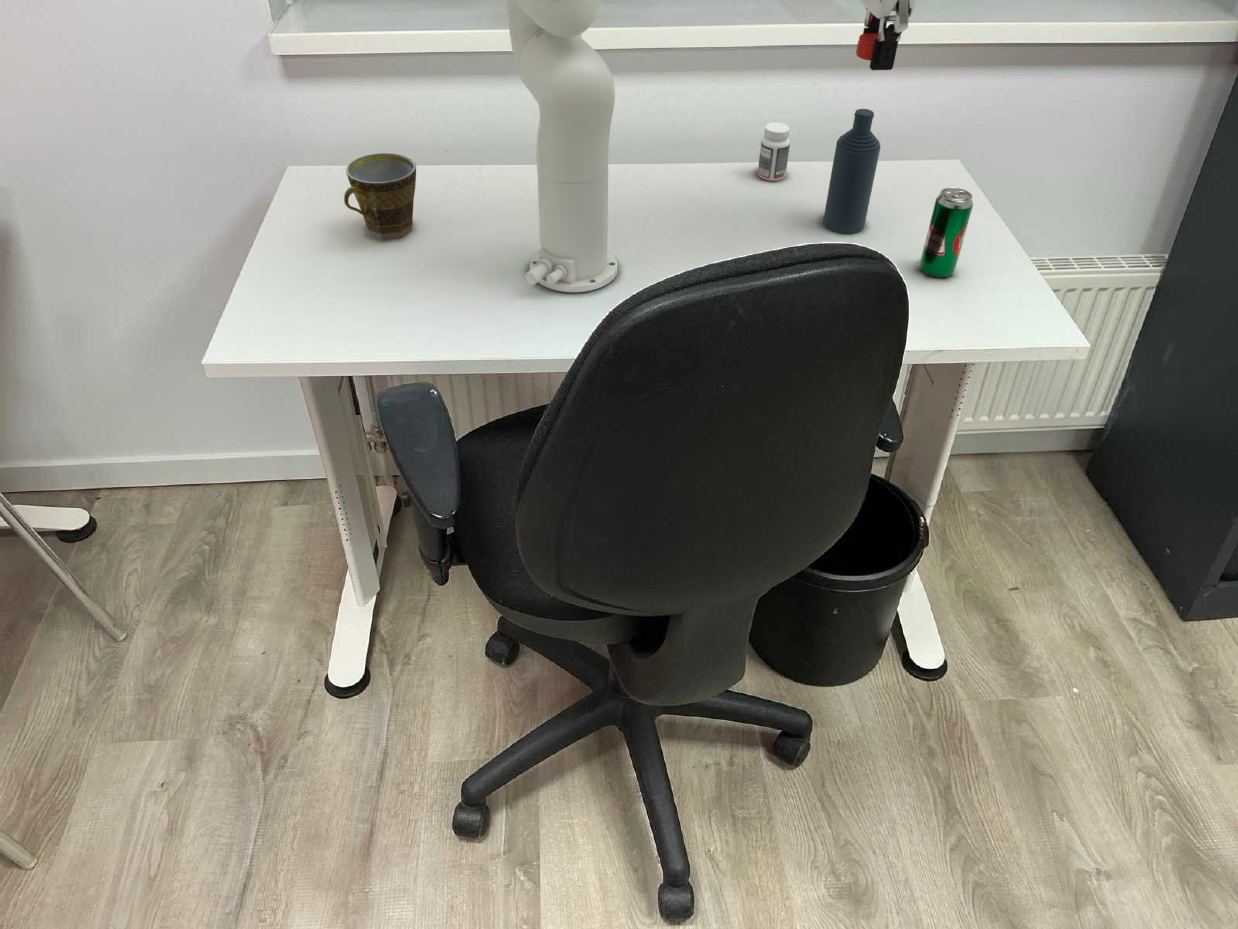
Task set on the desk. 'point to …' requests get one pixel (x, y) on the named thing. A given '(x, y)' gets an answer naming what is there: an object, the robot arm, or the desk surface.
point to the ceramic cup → (383, 193)
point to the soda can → (946, 232)
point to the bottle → (852, 176)
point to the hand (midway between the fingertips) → (875, 61)
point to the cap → (866, 45)
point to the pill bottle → (774, 152)
